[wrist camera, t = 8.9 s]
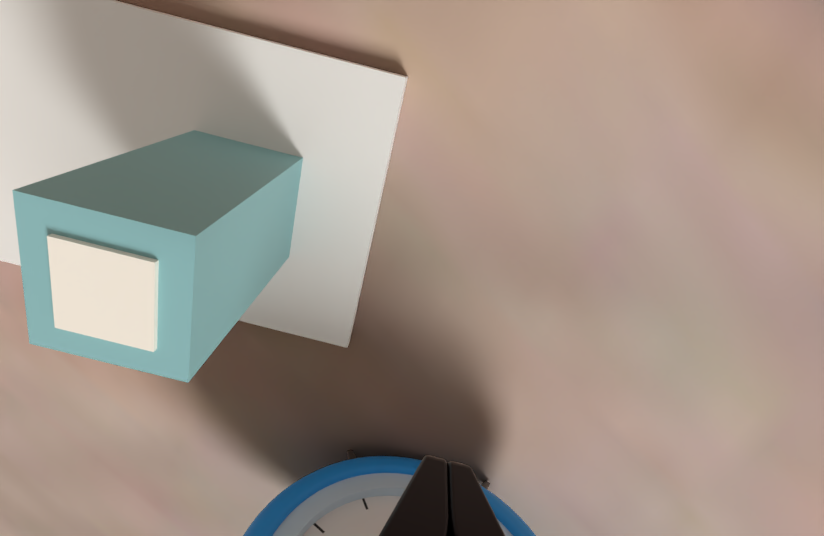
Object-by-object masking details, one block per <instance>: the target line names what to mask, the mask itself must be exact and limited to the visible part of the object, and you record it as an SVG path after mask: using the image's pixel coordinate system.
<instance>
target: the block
mask: <svg viewBox="0 0 824 536" xmlns="http://www.w3.org/2000/svg"><path fill="white" fill-rule="evenodd" d="M302 162H303V158H302V157H298V156H294V155H290V154H286V153H282V152H278V151H275V150H271V149H267V148H263V147H259V146H255V145H251V144H247V143H243V142H239V141H235V140H231V139H227V138H223V137H219V136H215V135H212V134H208V133H204V132H200V131H196V130H193V131H190V132H187V133H184V134H181V135H178V136H175V137H172V138H169V139H166V140H163V141H160V142H157V143H154V144H151V145H148V146H145V147H142V148H139V149H135V150H132V151H129V152H126V153H123V154H120V155H117V156H114V157H111V158H108V159H105V160H102V161H99V162H96V163H93V164H90V165H87V166H84V167H81V168H78V169H75V170H72V171H69V172H66V173H63V174H60V175H57V176H54V177H51V178H48V179H44V180H41V181H38V182H35V183H32V184H29V185H26V186H23V187H20V188H17V189H14V190H12V191H13V200H14V209H15V218H16V227H17V236H18V245H19V254H20V262H21V271H22V280H23V289H24V298H25V307H26V316H27V325H28V334H29V343H30V344H33V345H37V346H41V347H46V348H50V349H54V350H58V351H62V352H66V353H70V354H74V355H78V356H82V357H86V358H90V359H94V360H98V361H102V362H106V363H110V364H115V365H119V366H123V367H127V368H131V369H135V370H139V371H143V372H147V373H151V374H155V375H159V376H163V377H167V378H171V379H175V380H179V381H183V382H189V381H190V380H191V379H192V377H193V376H194V375H195V374H196V372H197V371H198V370H199V369H200V367H201V366H202V365H203V364H204V362H205V361H206V360H207V359H208V357H209V356H210V355H211V354H212V352H213V351H214V350H215V349H216V347H217V346H218V345H219V344H220V342H221V341H222V340H223V339H224V337H225V336H226V335H227V334H228V333H229V331H230V330H231V329H232V328H233V326H234V325H235V324H236V323H237V321H238V320H239V319H240V318H241V316H242V315H243V314H244V313H245V311H246V310H247V309H248V308H249V306H250V305H251V304H252V303H253V301H254V300H255V299H256V298H257V296H258V295H259V294H260V293H261V291H262V290H263V289H264V288H265V286H266V285H267V284H268V283H269V281H270V280H271V279H272V278H273V276H274V275H275V274H276V273H277V271H278V270H279V269H280V268H281V266H282V265H283V264H284V263H285V261H286V260H287V259H288V258H289V255H290V247H291V240H292V233H293V226H294V219H295V212H296V205H297V198H298V190H299V183H300V176H301V169H302Z"/></svg>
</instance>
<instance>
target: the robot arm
mask: <svg viewBox="0 0 824 536" xmlns="http://www.w3.org/2000/svg"><path fill="white" fill-rule="evenodd" d="M379 536H505V534H504V532H503V530H502V528H501V526H500V524H499V522H498V520H497V518H496V516H495V514H494V512H493V510H492V508H491V506H490V504H489V502H488V500H487V498H486V496H485V494H484V492H483V490H482V488H481V486H480V484H479V482H478V480H477V478H476V476H475V474H474V472H473V470H472V468H471V467H470V466H469V465H466V464H462V463H458V462H454V461H449V462H446V460H445V459H442V458H438V457H434V456H430V455H426V456H424V457H423V459H422V461H421V463H420V464H419V466H418V468H417V470H416V471H415V473H414V475H413V477H412V478H411V480H410V482H409V484H408V485H407V487H406V489H405V491H404V492H403V494H402V496H401V498H400V499H399V501H398V503H397V505H396V506H395V508H394V510H393V512H392V513H391V515H390V517H389V519H388V520H387V522H386V524H385V526H384V527H383V529H382V531H381V533H380V534H379Z"/></svg>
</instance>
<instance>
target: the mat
mask: <svg viewBox="0 0 824 536" xmlns="http://www.w3.org/2000/svg"><path fill="white" fill-rule="evenodd" d="M407 79H408V76H404V75H400V74H396V73H393V72H389V71H385V70H381V69H377V68H373V67H370V66H366V65H362V64H358V63H354V62H350V61H347V60H343V59H339V58H335V57H331V56H327V55H324V54H320V53H316V52H312V51H308V50H304V49H301V48H297V47H293V46H289V45H285V44H281V43H278V42H274V41H270V40H266V39H262V38H258V37H255V36H251V35H247V34H243V33H239V32H235V31H232V30H228V29H224V28H220V27H216V26H212V25H209V24H205V23H201V22H197V21H193V20H189V19H186V18H182V17H178V16H174V15H170V14H166V13H163V12H159V11H155V10H151V9H147V8H143V7H140V6H136V5H132V4H128V3H124V2H120V1H117V0H0V261H4V262H8V263H12V264H16V265H20V266H21V262H20V254H19V245H18V236H17V227H16V218H15V209H14V200H13V191H12V190H14V189H17V188H20V187H23V186H26V185H29V184H32V183H35V182H38V181H41V180H44V179H48V178H51V177H54V176H57V175H60V174H63V173H66V172H69V171H72V170H75V169H78V168H81V167H84V166H87V165H90V164H93V163H96V162H99V161H102V160H105V159H108V158H111V157H114V156H117V155H120V154H123V153H126V152H129V151H132V150H135V149H139V148H142V147H145V146H148V145H151V144H154V143H157V142H160V141H163V140H166V139H169V138H172V137H175V136H178V135H181V134H184V133H187V132H190V131H193V130H196V131H200V132H204V133H208V134H212V135H215V136H219V137H223V138H227V139H231V140H235V141H239V142H243V143H247V144H251V145H255V146H259V147H263V148H267V149H271V150H275V151H278V152H282V153H286V154H290V155H294V156H298V157H302V158H303V162H302V169H301V176H300V183H299V190H298V198H297V205H296V212H295V219H294V226H293V233H292V240H291V247H290V255H289V258H288V259H287V260H286V261H285V263H284V264H283V265H282V266H281V268H280V269H279V270H278V271H277V273H276V274H275V275H274V276H273V278H272V279H271V280H270V281H269V283H268V284H267V285H266V286H265V288H264V289H263V290H262V291H261V293H260V294H259V295H258V296H257V298H256V299H255V300H254V301H253V303H252V304H251V305H250V306H249V308H248V309H247V310H246V311H245V313H244V314H243V315H242V316H241V318H240V319H239V320H238V321H242V322H246V323H250V324H254V325H258V326H262V327H266V328H270V329H274V330H278V331H282V332H286V333H290V334H294V335H298V336H302V337H306V338H310V339H314V340H318V341H322V342H326V343H330V344H334V345H338V346H342V347H346V348H348V345H349V342H350V339H351V335H352V330H353V326H354V321H355V316H356V312H357V307H358V303H359V298H360V294H361V289H362V284H363V280H364V275H365V271H366V266H367V262H368V257H369V252H370V248H371V243H372V239H373V234H374V230H375V225H376V220H377V216H378V211H379V207H380V202H381V198H382V193H383V188H384V184H385V179H386V175H387V170H388V166H389V161H390V156H391V152H392V147H393V143H394V138H395V134H396V129H397V124H398V120H399V115H400V111H401V106H402V102H403V97H404V92H405V88H406V83H407Z"/></svg>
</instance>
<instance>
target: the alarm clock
mask: <svg viewBox="0 0 824 536" xmlns="http://www.w3.org/2000/svg"><path fill="white" fill-rule="evenodd" d="M347 458H348V460H345V461H341V462H338V463H335V464H331V465H329V466H326V467H324V468H321V469H319V470H317V471H315V472H313V473H311V474H309V475H307V476H305V477H303V478H301V479H300V480H298V481H296V482H295V483H293V484H292V485H290V486H289V487H288V488H286V489H285V490H284V491H282V492H281V493H280V494H279V495H277V496H276V497H275V498H274V499H273V500H272V501H271V502H270V503H269V504H268V505H267V506H266V507H265V508H264V509H263V510H262V511H261V512H260V513H259V515H258V516H257V517H256V518H255V520H254V521H253V522H252V524H251V525H250V526H249V528H248V529H247V531H246V532H245V534H244V535H243V536H379V534H380V533H381V531H382V529H383V527H384V526H385V524H386V522H387V520H388V519H389V517H390V515H391V513H392V512H393V510H394V508H395V506H396V505H397V503H398V501H399V499H400V498H401V496H402V494H403V492H404V491H405V489H406V487H407V485H408V484H409V482H410V480H411V478H412V477H413V475H414V473H415V471H416V470H417V468H418V466H419V464H420V463H421V461H422V460H417V459H412V458H406V457H397V456H369V457H361V458H357V457H356V455H355V454H354V452H353V450H348V451H347ZM489 484H490V483H489V482H487V481H485V482H484V483H483V484H482V485H480V486H481V488H482V490H483V492H484V494H485V496H486V498H487V500H488V502H489V504H490V506H491V508H492V510H493V512H494V514H495V516H496V518H497V520H498V522H499V524H500V526H501V528H502V530H503V532H504V534H505V536H536V535H535V534H534V533H533V532H532V530H531V529H530V528H529V527H528V525H527V524H526V523H525V522H524V521H523V520H522V519H521V518H520V517H519V516H518V515H517V514H516V513H515V512H514V511H513V510H512V509H511V508H510V507H509V506H508V505H506V504H505V503H504V502H503V501H502V500H500V499H499V498H498V497H497V496H495V495H494V494H493V493H491V492H490V491H488V490H487V489H488V487H489Z"/></svg>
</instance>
